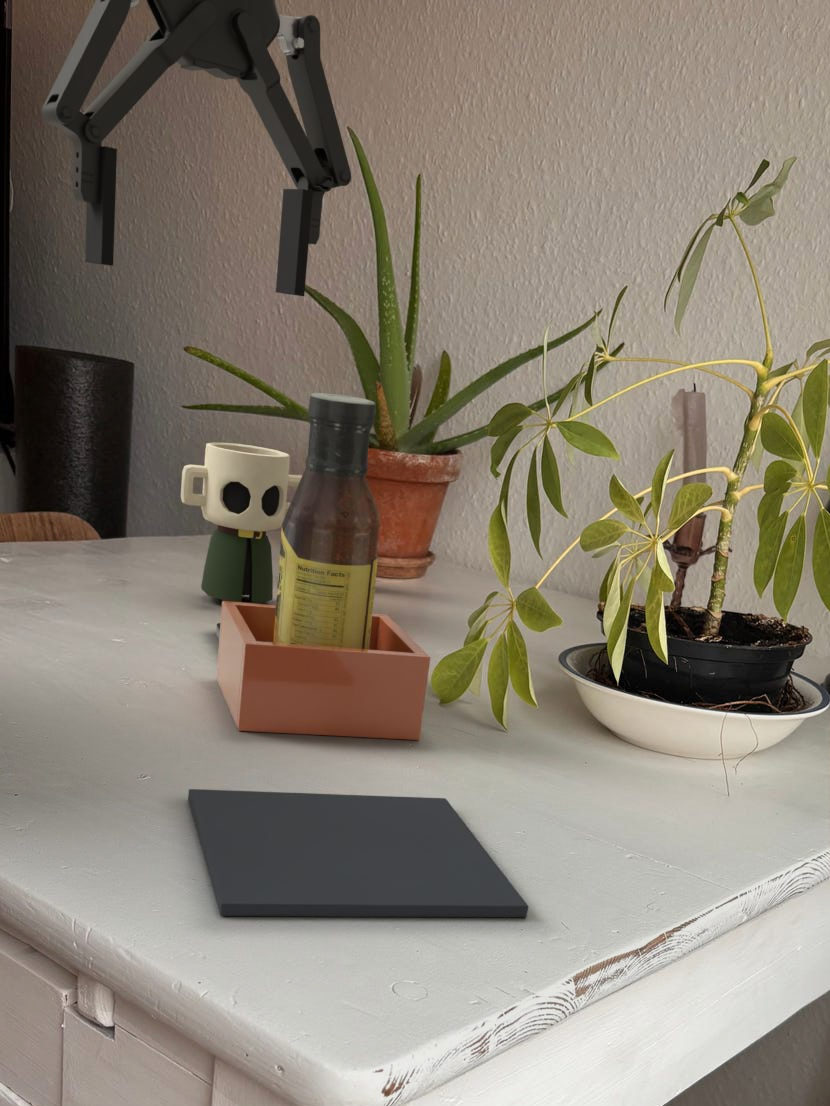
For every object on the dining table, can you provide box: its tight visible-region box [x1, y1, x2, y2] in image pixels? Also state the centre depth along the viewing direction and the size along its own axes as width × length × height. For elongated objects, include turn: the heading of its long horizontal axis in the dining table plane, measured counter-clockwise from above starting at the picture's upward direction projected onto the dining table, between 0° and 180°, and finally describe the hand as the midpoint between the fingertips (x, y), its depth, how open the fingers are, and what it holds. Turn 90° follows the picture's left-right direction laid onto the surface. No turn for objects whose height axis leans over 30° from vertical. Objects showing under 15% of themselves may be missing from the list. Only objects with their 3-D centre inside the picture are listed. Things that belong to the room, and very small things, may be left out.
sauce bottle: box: [273, 392, 381, 650], centre depth 82 cm, size 6×6×20 cm
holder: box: [215, 600, 431, 741], centre depth 85 cm, size 12×12×6 cm
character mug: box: [180, 442, 302, 604], centre depth 111 cm, size 11×7×13 cm, turn 115°
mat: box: [188, 788, 529, 918], centre depth 63 cm, size 14×14×1 cm
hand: (198, 280), depth 85 cm, fingers open, 13 cm apart
